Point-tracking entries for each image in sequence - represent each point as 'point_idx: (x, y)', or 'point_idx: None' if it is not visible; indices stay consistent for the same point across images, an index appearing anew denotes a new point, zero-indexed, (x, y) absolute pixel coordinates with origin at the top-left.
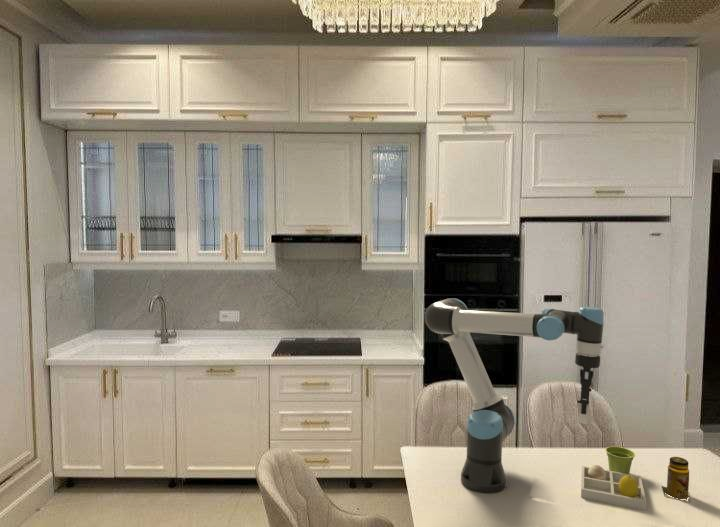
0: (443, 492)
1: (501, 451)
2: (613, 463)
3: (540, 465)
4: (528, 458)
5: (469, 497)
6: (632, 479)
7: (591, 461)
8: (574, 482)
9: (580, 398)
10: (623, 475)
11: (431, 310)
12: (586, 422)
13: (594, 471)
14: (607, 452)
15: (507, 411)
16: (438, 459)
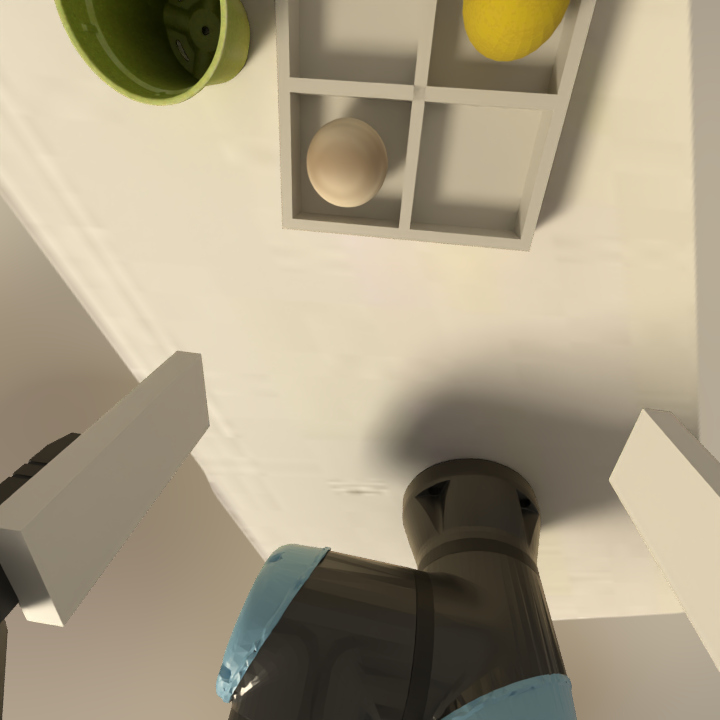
0: (551, 577)
1: (497, 572)
2: (226, 61)
3: (274, 360)
4: (236, 393)
5: (568, 533)
6: None
7: (124, 162)
8: (371, 252)
9: (137, 517)
10: (291, 8)
11: None
12: (676, 430)
13: (375, 183)
14: (191, 95)
15: (311, 670)
16: None
